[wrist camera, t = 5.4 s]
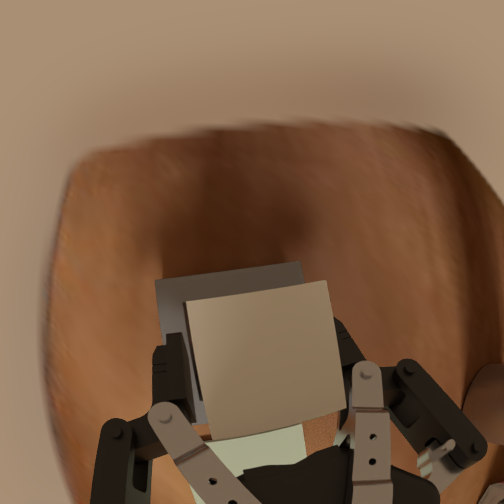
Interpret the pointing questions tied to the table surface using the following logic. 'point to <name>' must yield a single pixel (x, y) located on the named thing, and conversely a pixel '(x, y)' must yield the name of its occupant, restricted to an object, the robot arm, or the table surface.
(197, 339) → the cream carton
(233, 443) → the mat
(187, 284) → the grey square frame
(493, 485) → the ink box
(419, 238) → the table surface
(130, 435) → the robot arm
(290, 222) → the table surface
